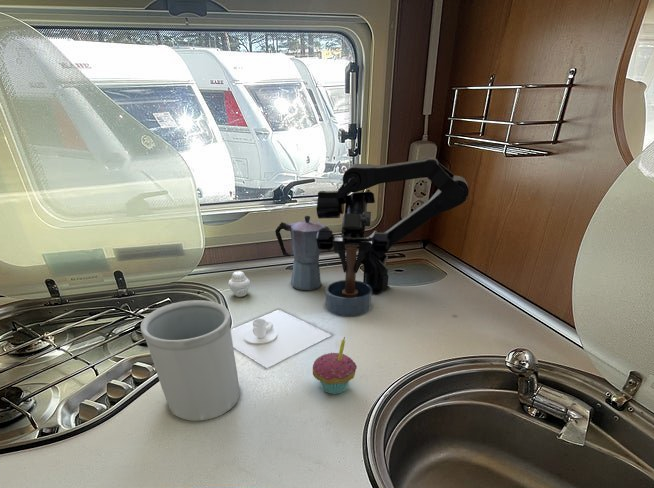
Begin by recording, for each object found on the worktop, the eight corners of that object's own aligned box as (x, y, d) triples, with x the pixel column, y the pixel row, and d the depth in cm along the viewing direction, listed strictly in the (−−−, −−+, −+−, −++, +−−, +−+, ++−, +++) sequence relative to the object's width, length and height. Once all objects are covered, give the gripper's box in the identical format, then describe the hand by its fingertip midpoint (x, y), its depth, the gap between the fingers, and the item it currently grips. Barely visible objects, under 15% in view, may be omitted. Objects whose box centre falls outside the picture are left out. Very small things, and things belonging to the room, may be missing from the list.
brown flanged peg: (338, 295, 114) (339, 247, 106) (348, 290, 117) (350, 243, 109) (350, 300, 112) (352, 251, 104) (361, 295, 114) (363, 247, 106)
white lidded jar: (255, 292, 122) (253, 269, 118) (242, 300, 118) (239, 276, 114) (239, 288, 125) (236, 265, 121) (225, 296, 121) (221, 272, 117)
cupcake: (360, 379, 87) (362, 327, 80) (348, 404, 80) (350, 350, 73) (320, 372, 89) (319, 321, 82) (306, 395, 83) (304, 342, 76)
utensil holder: (217, 431, 74) (198, 346, 64) (148, 414, 79) (120, 331, 68) (255, 385, 86) (245, 306, 75) (193, 371, 90) (175, 295, 80)
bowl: (316, 306, 114) (316, 289, 111) (346, 293, 121) (346, 276, 118) (350, 321, 107) (351, 303, 104) (380, 305, 114) (381, 288, 111)
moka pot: (330, 291, 122) (330, 220, 110) (277, 292, 123) (271, 221, 111) (330, 278, 130) (330, 210, 118) (280, 279, 130) (275, 211, 118)
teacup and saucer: (265, 324, 106) (264, 309, 104) (286, 335, 102) (285, 320, 99) (237, 337, 102) (235, 321, 99) (257, 349, 97) (255, 333, 95)
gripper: (316, 197, 104) (310, 256, 102) (392, 199, 102) (388, 259, 100) (321, 221, 115) (315, 275, 113) (390, 223, 113) (386, 278, 111)
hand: (350, 272), depth 109 cm, fingers closed on brown flanged peg, 2 cm apart
